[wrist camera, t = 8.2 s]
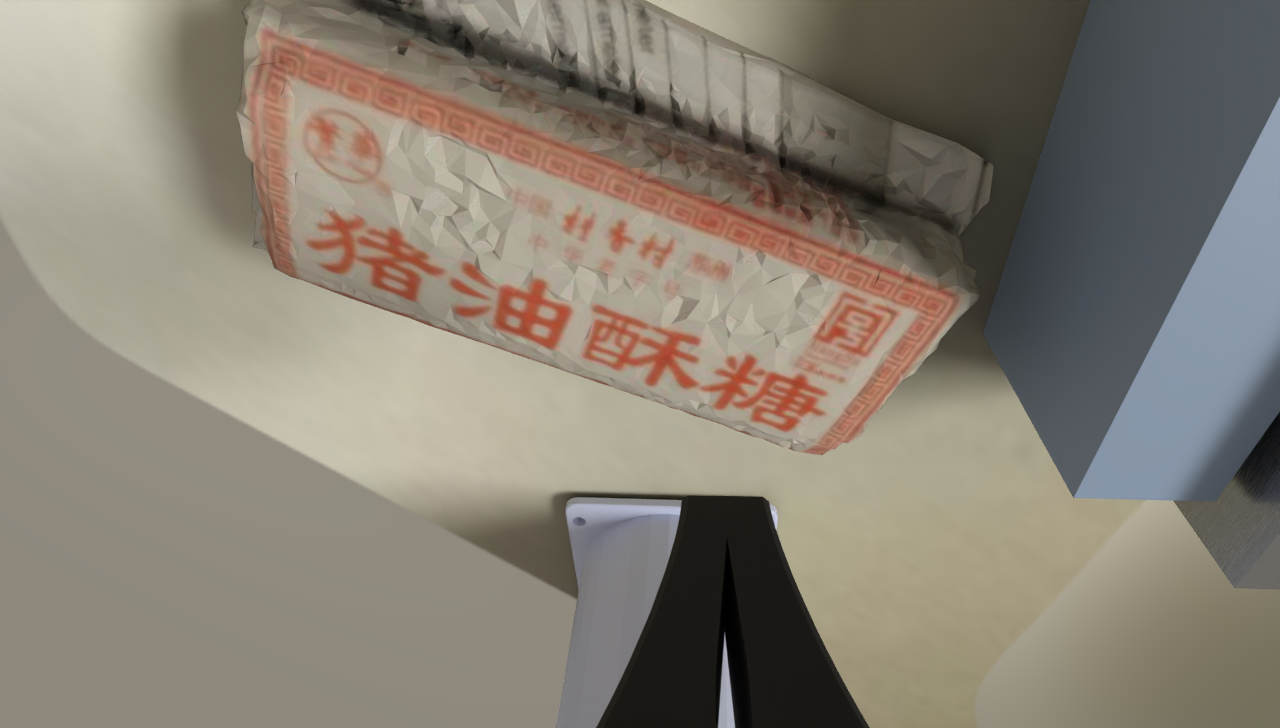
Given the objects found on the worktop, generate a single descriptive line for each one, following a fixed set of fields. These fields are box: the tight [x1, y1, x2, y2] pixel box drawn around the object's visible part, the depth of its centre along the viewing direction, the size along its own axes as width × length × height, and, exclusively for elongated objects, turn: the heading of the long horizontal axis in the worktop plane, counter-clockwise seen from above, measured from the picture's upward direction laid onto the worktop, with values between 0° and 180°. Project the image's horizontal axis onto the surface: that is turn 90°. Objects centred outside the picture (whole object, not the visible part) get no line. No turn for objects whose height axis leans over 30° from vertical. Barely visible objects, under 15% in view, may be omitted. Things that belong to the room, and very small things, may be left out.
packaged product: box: [236, 0, 994, 455], centre depth 17 cm, size 18×5×10 cm
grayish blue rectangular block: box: [983, 0, 1280, 502], centre depth 14 cm, size 12×3×6 cm, turn 3°
